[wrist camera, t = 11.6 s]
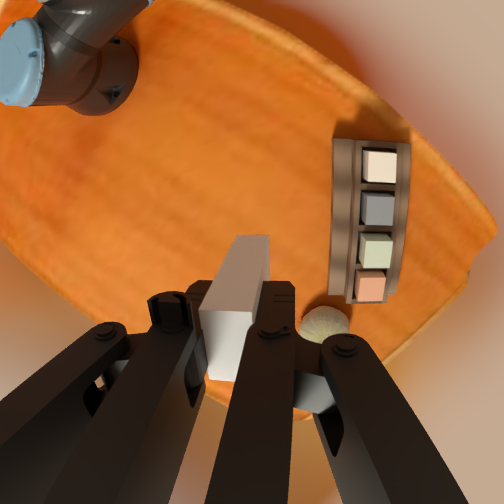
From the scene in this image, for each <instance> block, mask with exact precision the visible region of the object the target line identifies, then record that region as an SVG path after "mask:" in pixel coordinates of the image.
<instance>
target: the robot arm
mask: <svg viewBox="0 0 504 504" xmlns="http://www.w3.org/2000/svg"><path fill="white" fill-rule="evenodd" d="M37 1H38V2H40V3H42V4H44V5H43V6H42V7H41V8H40V9H39V11H38V12H37V13H36V14H35V15H34V17H33V18H30V17H25V18H21V19H19V20H17V21H16V22H13V23H12V24H11V25H10V26H9V27H8V28H7V29H6V30H5V32H4V33H3V35H2V36H1V38H0V102H2V103H3V104H6V105H13V106H20V107H27V106H50V105H66V106H67V107H69V108H71V109H72V110H74V111H76V112H77V113H79V114H82V115H87V116H100V115H104V114H107V113H110V112H112V111H113V110H115V109H116V108H118V107H119V106H120V105H121V104H122V103H123V102H124V101H125V100H126V99H127V97H128V96H129V94H130V93H131V91H132V89H133V87H134V85H135V82H136V79H137V74H138V58H137V54H136V52H135V50H134V48H133V47H132V45H131V44H130V43H129V42H127V41H126V40H124V39H122V38H120V37H117V36H115V35H116V34H117V33H118V32H119V31H120V30H121V29H122V28H123V27H124V26H125V25H126V24H128V23H129V22H130V21H131V20H132V19H133V18H134V17H135V16H136V15H138V14H139V13H140V12H141V11H142V10H143V9H145V8H146V7H147V8H148V7H149V6H150V5H151V4H152V2H153V1H154V0H37ZM147 303H148V308H149V312H150V316H151V321H152V326H151V327H150V329H149V330H148V332H146V333H139V334H127V331H126V328H125V326H124V325H122V324H121V323H118V322H104V323H102V324H98V325H97V326H95V327H93V328H91V329H90V330H89V331H88V332H86V333H85V334H84V335H82V336H81V337H80V338H78V339H77V340H76V341H75V342H73V343H72V344H71V345H69V346H68V347H67V348H66V349H64V350H63V351H62V352H61V353H59V354H58V355H57V356H55V357H54V358H53V359H52V360H50V361H49V362H48V363H46V364H45V365H44V366H43V367H42V368H40V369H39V370H38V371H36V372H35V373H34V374H33V375H31V376H30V377H29V378H28V379H27V380H25V381H24V382H23V383H22V384H20V385H19V386H18V387H17V388H16V389H14V390H13V391H12V392H11V393H9V394H8V395H7V396H6V397H5V398H3V399H2V400H1V401H0V504H168V503H169V500H170V496H171V493H172V491H173V488H174V485H175V482H176V479H177V476H178V473H179V469H180V466H181V463H182V460H183V457H184V454H185V451H186V448H187V445H188V442H189V439H190V436H191V433H192V430H193V427H194V424H195V421H196V418H197V415H198V411H199V409H200V406H201V402H202V400H203V396H204V394H205V388H206V385H205V380H204V376H205V374H206V371H207V368H208V374H209V379H211V380H222V381H235V384H234V388H233V392H232V396H231V400H230V404H229V408H228V412H227V416H226V420H225V424H224V429H223V432H222V437H221V440H220V444H219V449H218V452H217V456H216V460H215V464H214V468H213V472H212V476H211V480H210V484H209V488H208V492H207V495H206V499H205V503H204V504H287V501H288V487H289V474H290V460H291V442H292V423H293V407H295V408H298V409H302V410H305V411H309V412H313V418H314V421H315V424H316V427H317V430H318V432H319V435H320V438H321V441H322V444H323V447H324V450H325V453H326V455H327V458H328V461H329V464H330V467H331V470H332V473H333V476H334V479H335V482H336V485H337V487H338V490H339V493H340V496H341V499H342V502H343V504H469V503H468V501H467V500H466V498H465V496H464V495H463V492H462V491H461V489H460V487H459V486H458V484H457V482H456V480H455V479H454V477H453V475H452V473H451V472H450V470H449V469H448V467H447V465H446V463H445V462H444V460H443V458H442V457H441V455H440V453H439V452H438V450H437V448H436V447H435V445H434V444H433V442H432V440H431V439H430V437H429V435H428V434H427V432H426V431H425V429H424V427H423V426H422V424H421V423H420V421H419V419H418V418H417V416H416V415H415V413H414V412H413V410H412V408H411V407H410V406H409V404H408V402H407V401H406V399H405V398H404V396H403V394H402V393H401V391H400V390H399V389H398V387H397V385H396V384H395V382H394V381H393V379H392V378H391V376H390V375H389V373H388V372H387V370H386V369H385V367H384V366H383V364H382V363H381V361H380V360H379V358H378V357H377V355H376V354H375V352H374V351H373V349H372V348H371V346H370V345H369V344H368V343H367V342H366V341H365V340H364V339H363V338H361V337H359V336H357V335H354V334H348V333H337V334H334V335H331V336H328V337H327V338H326V339H324V340H323V342H322V344H321V343H316V342H312V341H309V340H307V339H305V338H303V337H302V336H300V335H299V334H298V333H297V331H296V329H295V287H294V286H293V285H292V284H291V282H290V281H270V247H269V235H237V236H236V238H235V240H234V242H233V244H232V246H231V247H230V249H229V251H228V253H227V255H226V257H225V259H224V261H223V263H222V265H221V267H220V269H219V271H218V272H217V274H216V276H215V278H214V280H213V281H211V280H198V281H196V282H195V283H193V284H192V285H190V286H189V288H188V289H187V291H186V292H185V293H183V292H178V291H167V292H163V293H159V294H157V295H154V296H152V297H151V298H150V299H149V300H147ZM99 376H101V378H102V380H103V383H104V385H103V386H102V387H100V388H97V386H96V384H95V382H94V381H95V380H96V379H97V378H98V377H99Z"/></svg>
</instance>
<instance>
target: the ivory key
mask: <svg viewBox="0 0 504 504" xmlns="http://www.w3.org/2000/svg"><path fill="white" fill-rule="evenodd" d="M396 160H397V154H396V153H391V152H383V151H368V150H363V168H362V178H363V179H365V180H366V181H368V182H388V183H396Z"/></svg>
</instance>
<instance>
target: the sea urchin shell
mask: <svg viewBox="0 0 504 504" xmlns="http://www.w3.org/2000/svg"><path fill="white" fill-rule="evenodd" d="M299 332H300V336H302V337H303V338H305V339H307V340H309V341H312V342H316V343H321V344H322V342H323V340H324V339H326V338H327V337H328V336H331V335H334V334H337V333H349V320H348V318H347V316H346V315H345V314H344V313H342V312H341V311H340V310H337V309H335V308H333V307H329V306H318V307H316V308H315V309H313V310H311V311H310V312H309V313H308V314H306V315H305V316H304V317H303V319H302V320H301V322H300V325H299Z"/></svg>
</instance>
